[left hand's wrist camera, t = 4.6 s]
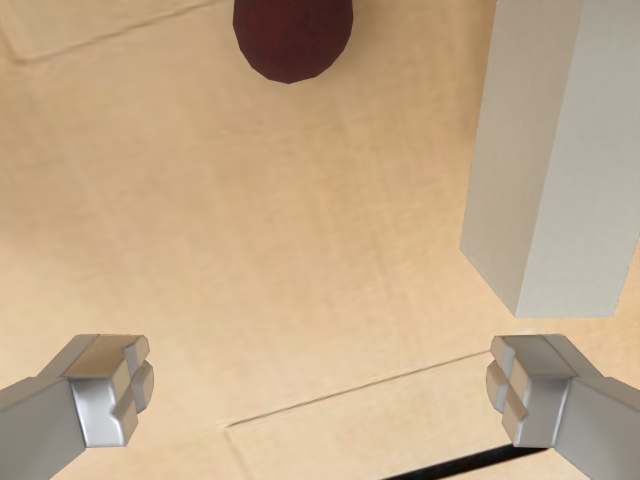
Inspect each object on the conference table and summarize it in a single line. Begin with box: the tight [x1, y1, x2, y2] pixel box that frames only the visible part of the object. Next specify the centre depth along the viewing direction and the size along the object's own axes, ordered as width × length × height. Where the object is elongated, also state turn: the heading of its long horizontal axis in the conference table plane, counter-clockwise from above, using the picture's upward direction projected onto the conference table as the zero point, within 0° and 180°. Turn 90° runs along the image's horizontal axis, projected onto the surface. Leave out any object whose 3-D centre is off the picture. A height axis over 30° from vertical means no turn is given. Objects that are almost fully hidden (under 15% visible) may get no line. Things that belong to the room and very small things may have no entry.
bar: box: [459, 0, 640, 318], centre depth 19 cm, size 27×5×8 cm, turn 179°
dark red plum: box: [233, 0, 353, 84], centre depth 27 cm, size 7×8×7 cm
